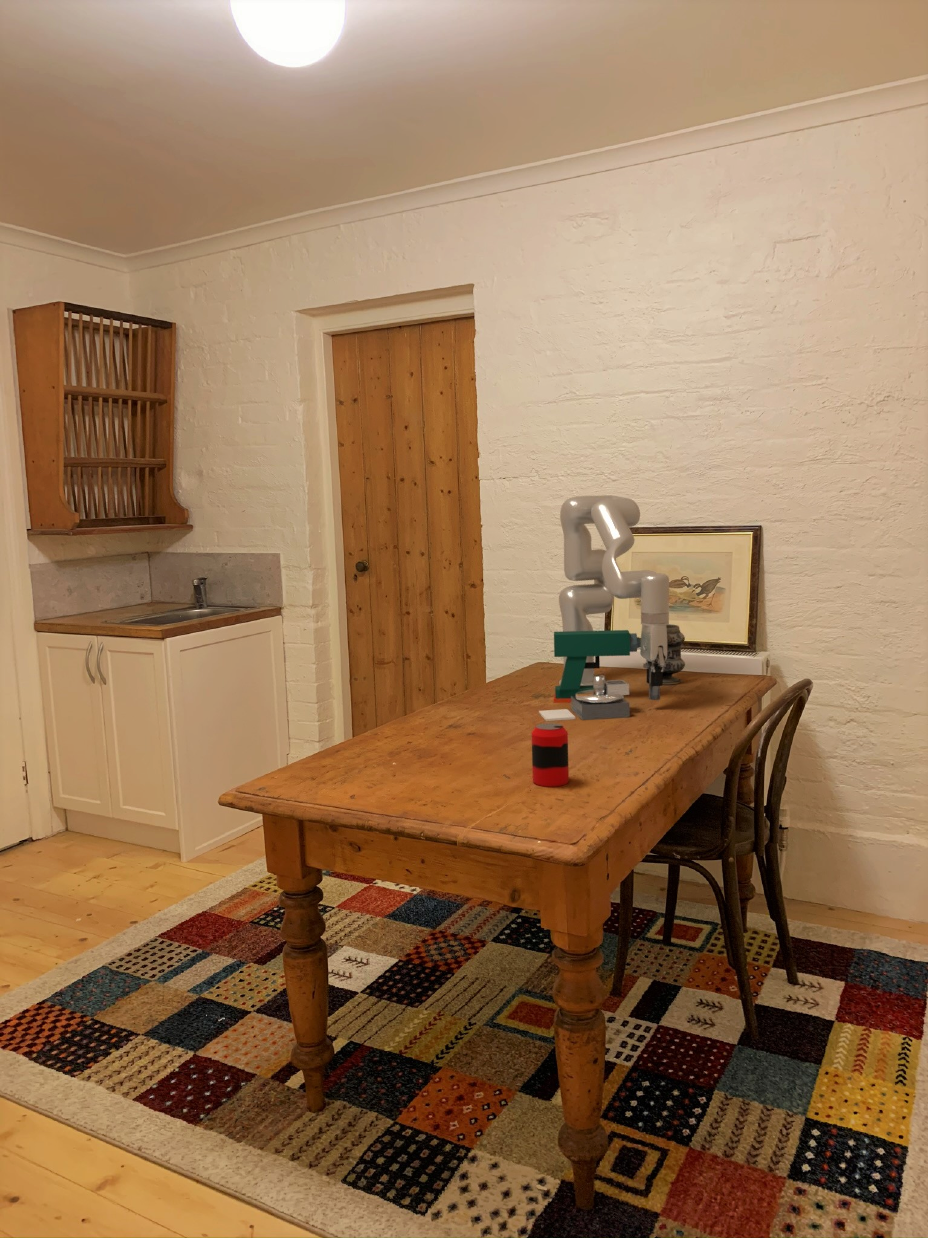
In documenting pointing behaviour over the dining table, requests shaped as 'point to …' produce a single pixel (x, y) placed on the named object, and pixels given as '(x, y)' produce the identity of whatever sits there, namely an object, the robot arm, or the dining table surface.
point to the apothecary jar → (673, 655)
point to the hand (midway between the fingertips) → (654, 683)
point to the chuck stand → (600, 709)
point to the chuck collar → (604, 691)
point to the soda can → (550, 755)
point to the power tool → (584, 645)
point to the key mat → (557, 715)
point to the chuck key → (653, 690)
